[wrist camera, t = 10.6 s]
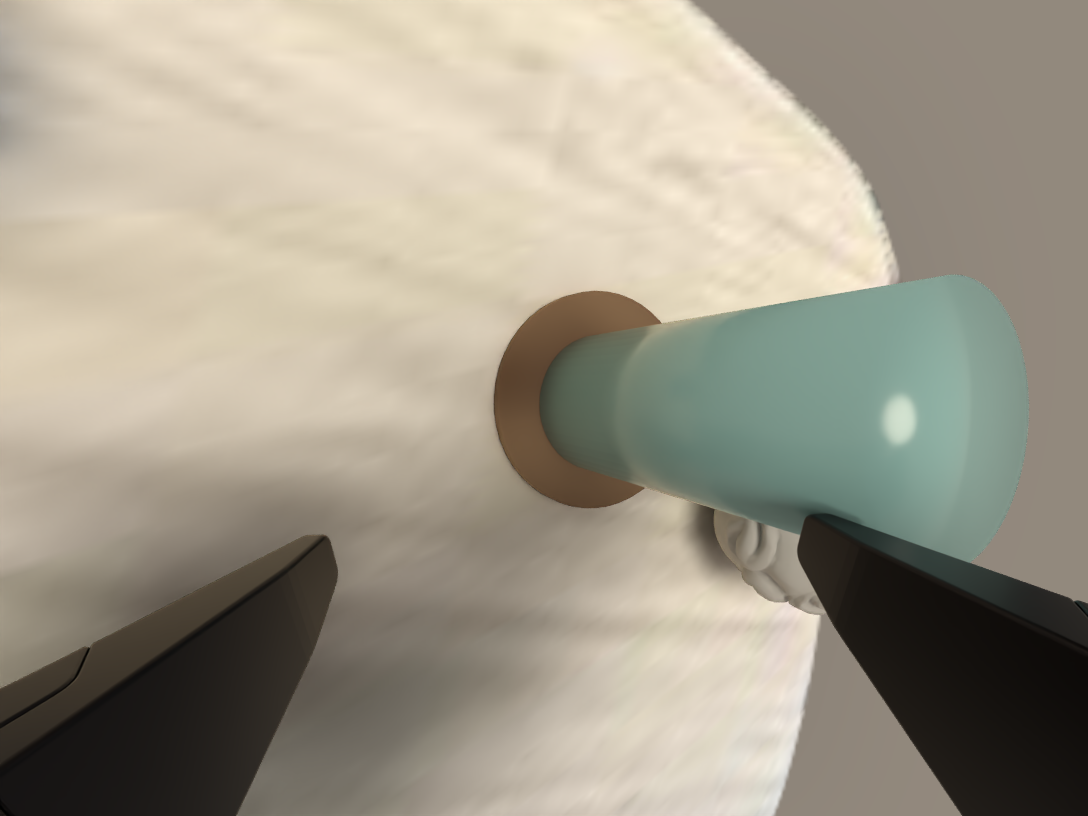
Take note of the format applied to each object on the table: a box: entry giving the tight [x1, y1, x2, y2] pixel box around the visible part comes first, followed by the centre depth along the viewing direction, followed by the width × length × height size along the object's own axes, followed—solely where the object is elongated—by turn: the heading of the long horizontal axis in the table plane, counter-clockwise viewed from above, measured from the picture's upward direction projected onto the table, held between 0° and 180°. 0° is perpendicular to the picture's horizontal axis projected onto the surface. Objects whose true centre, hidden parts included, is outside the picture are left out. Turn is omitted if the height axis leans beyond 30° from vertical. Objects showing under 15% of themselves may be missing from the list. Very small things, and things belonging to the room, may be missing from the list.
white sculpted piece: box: [714, 509, 827, 615], centre depth 22 cm, size 6×7×7 cm
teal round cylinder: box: [540, 275, 1029, 563], centre depth 15 cm, size 6×6×12 cm
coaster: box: [494, 291, 662, 508], centre depth 21 cm, size 9×9×1 cm
